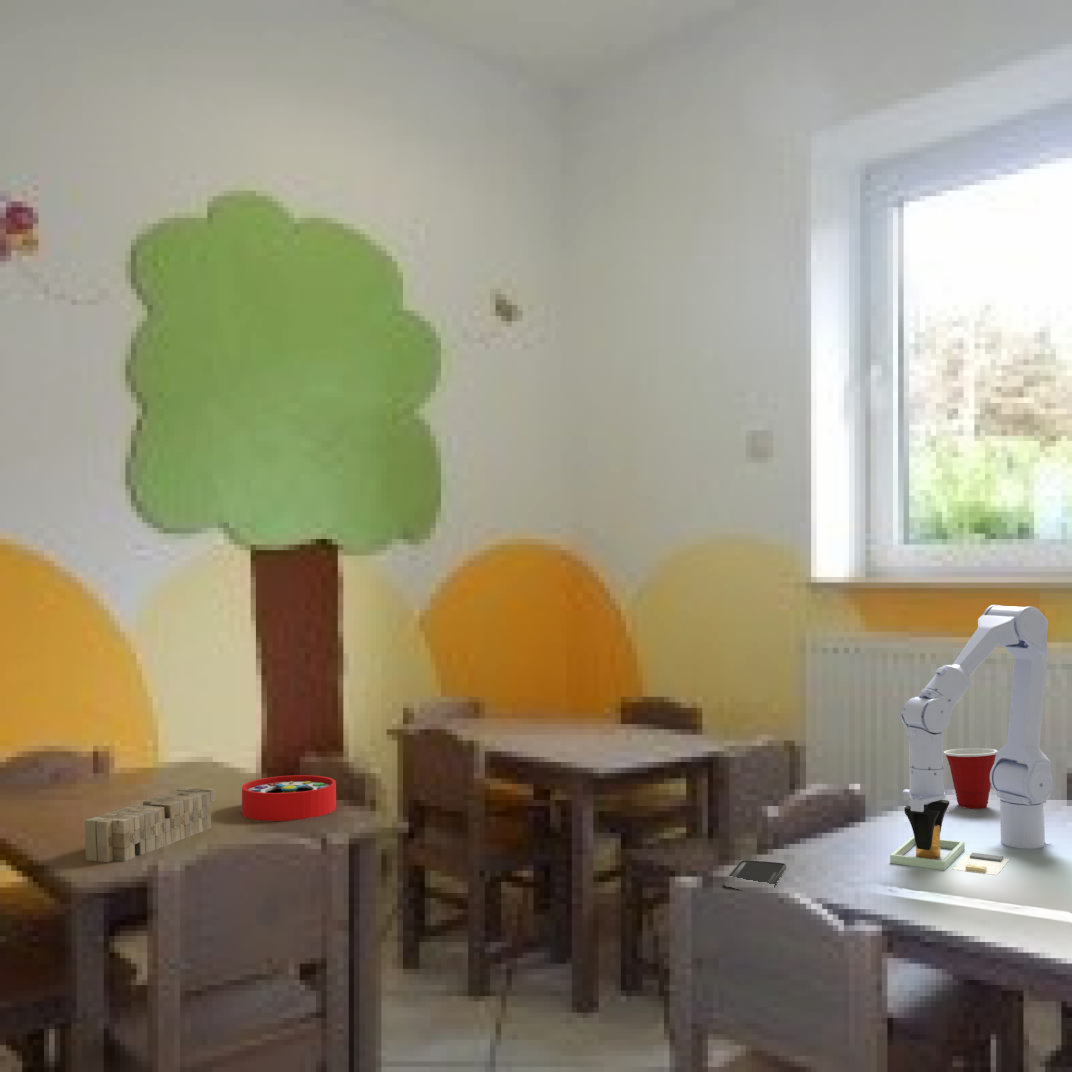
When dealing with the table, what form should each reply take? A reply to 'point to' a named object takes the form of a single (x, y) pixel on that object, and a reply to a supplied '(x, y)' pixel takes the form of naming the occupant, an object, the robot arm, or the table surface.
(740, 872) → the phone
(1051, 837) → the table surface
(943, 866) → the pale green rectangular frame
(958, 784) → the plastic cup
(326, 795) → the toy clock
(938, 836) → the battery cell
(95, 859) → the block tower
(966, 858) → the cream rectangular pad
